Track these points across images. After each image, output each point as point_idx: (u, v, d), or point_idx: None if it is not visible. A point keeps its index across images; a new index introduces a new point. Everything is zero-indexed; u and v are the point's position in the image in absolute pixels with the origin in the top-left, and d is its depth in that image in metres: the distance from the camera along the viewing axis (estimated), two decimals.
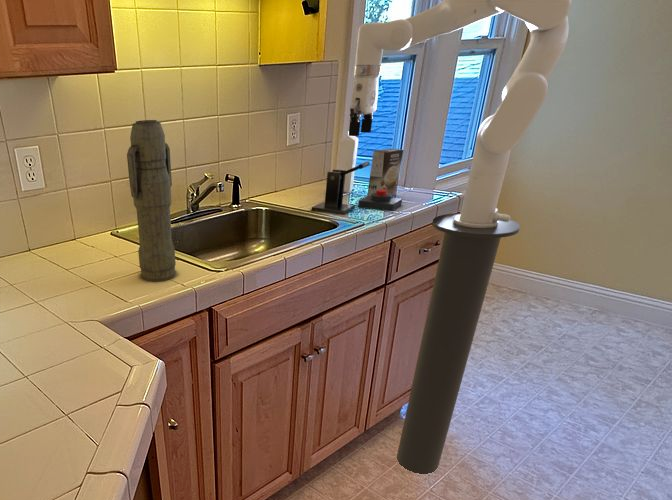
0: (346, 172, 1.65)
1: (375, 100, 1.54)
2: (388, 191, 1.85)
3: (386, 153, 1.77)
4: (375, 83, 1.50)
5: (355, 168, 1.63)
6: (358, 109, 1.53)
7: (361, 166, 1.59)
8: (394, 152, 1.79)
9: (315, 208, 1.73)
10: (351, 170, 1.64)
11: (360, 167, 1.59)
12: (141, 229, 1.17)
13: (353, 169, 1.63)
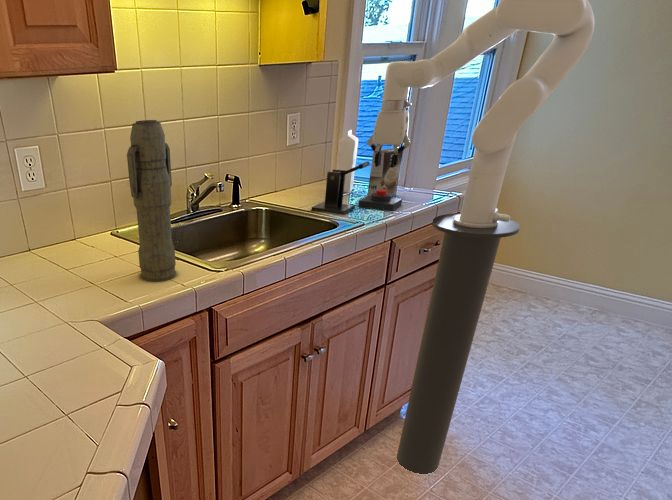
0: (346, 172, 1.65)
1: None
2: (388, 191, 1.85)
3: (386, 153, 1.77)
4: None
5: (355, 168, 1.63)
6: None
7: (361, 166, 1.59)
8: None
9: (315, 208, 1.73)
10: (351, 170, 1.64)
11: (360, 167, 1.59)
12: (141, 229, 1.17)
13: (353, 169, 1.63)
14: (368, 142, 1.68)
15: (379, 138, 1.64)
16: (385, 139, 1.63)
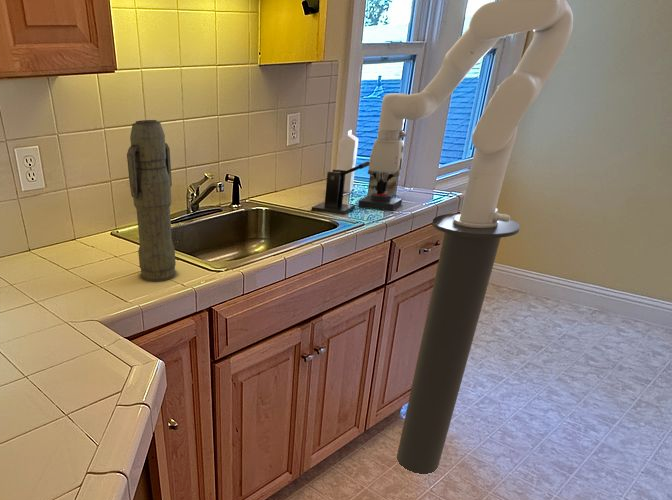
0: (346, 172, 1.65)
1: None
2: (388, 191, 1.85)
3: None
4: None
5: (355, 168, 1.63)
6: None
7: (361, 166, 1.59)
8: None
9: (315, 208, 1.73)
10: (351, 170, 1.64)
11: (360, 167, 1.59)
12: (141, 229, 1.17)
13: (353, 169, 1.63)
14: (369, 172, 1.72)
15: (375, 166, 1.69)
16: (381, 167, 1.68)
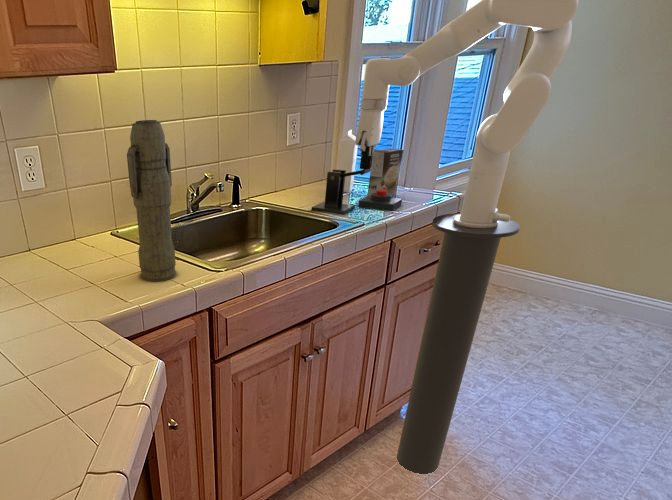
0: (346, 174, 1.66)
1: None
2: (388, 191, 1.85)
3: (386, 153, 1.77)
4: None
5: (356, 172, 1.63)
6: None
7: (362, 172, 1.60)
8: (394, 152, 1.79)
9: (315, 208, 1.73)
10: (352, 173, 1.64)
11: (361, 173, 1.60)
12: (141, 229, 1.17)
13: (354, 173, 1.64)
14: (364, 148, 1.55)
15: (373, 139, 1.54)
16: (374, 140, 1.56)
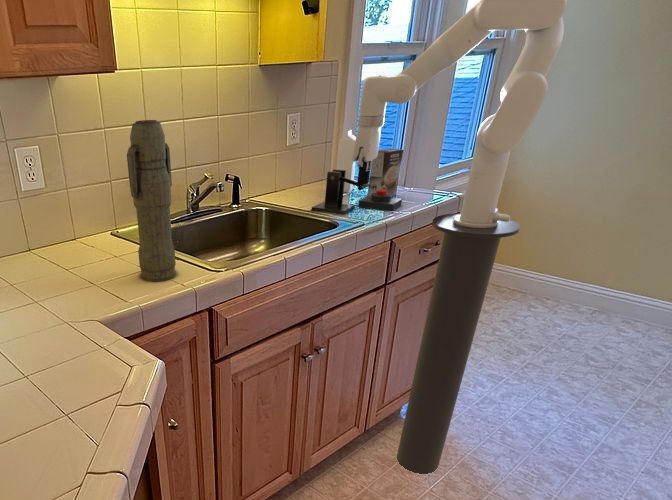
0: (346, 180, 1.66)
1: None
2: (388, 191, 1.85)
3: (386, 153, 1.77)
4: None
5: (355, 183, 1.65)
6: None
7: (360, 188, 1.62)
8: (394, 152, 1.79)
9: (315, 208, 1.73)
10: (351, 182, 1.66)
11: (359, 188, 1.63)
12: (141, 229, 1.17)
13: (353, 183, 1.65)
14: (361, 164, 1.57)
15: (370, 155, 1.57)
16: (372, 155, 1.58)
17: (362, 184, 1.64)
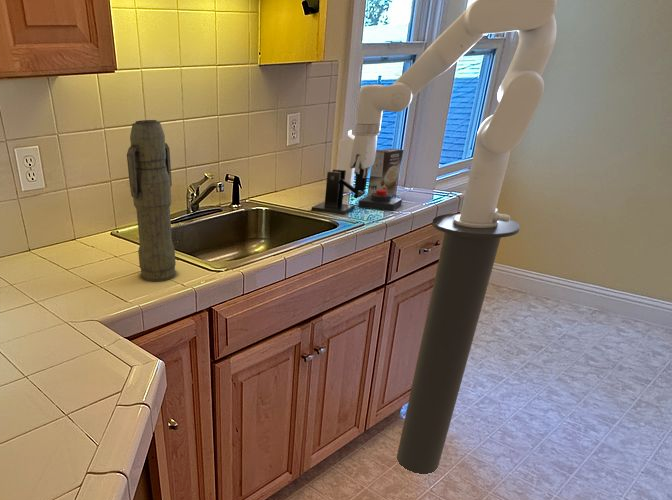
0: (344, 184, 1.67)
1: None
2: (388, 191, 1.85)
3: (386, 153, 1.77)
4: None
5: (352, 188, 1.66)
6: None
7: (356, 196, 1.64)
8: (394, 152, 1.79)
9: (315, 208, 1.73)
10: (348, 187, 1.67)
11: (355, 196, 1.64)
12: (141, 229, 1.17)
13: (350, 188, 1.67)
14: (358, 171, 1.59)
15: (367, 163, 1.58)
16: (368, 163, 1.60)
17: (359, 192, 1.65)
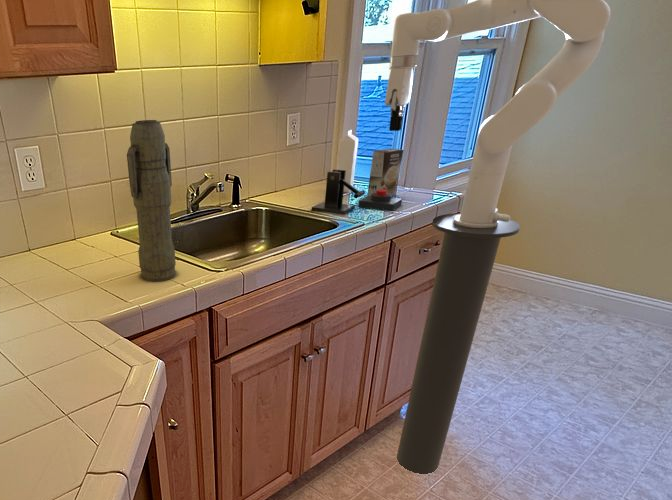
0: (344, 184, 1.67)
1: None
2: (388, 191, 1.85)
3: (386, 153, 1.77)
4: None
5: (352, 188, 1.66)
6: None
7: (356, 196, 1.64)
8: (394, 152, 1.79)
9: (315, 208, 1.73)
10: (348, 187, 1.67)
11: (355, 196, 1.64)
12: (141, 229, 1.17)
13: (350, 188, 1.67)
14: (395, 108, 1.51)
15: (403, 98, 1.51)
16: (405, 99, 1.52)
17: (358, 192, 1.65)
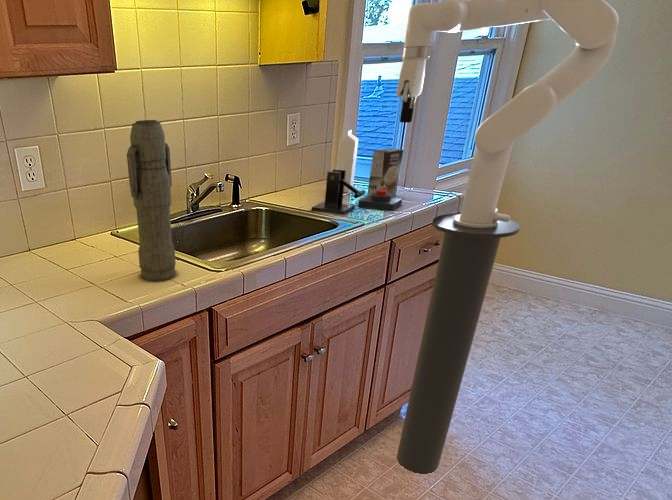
0: (344, 184, 1.67)
1: None
2: (388, 191, 1.85)
3: (386, 153, 1.77)
4: None
5: (352, 188, 1.66)
6: None
7: (356, 196, 1.64)
8: (394, 152, 1.79)
9: (315, 208, 1.73)
10: (348, 187, 1.67)
11: (355, 196, 1.64)
12: (141, 229, 1.17)
13: (350, 188, 1.67)
14: (406, 99, 1.51)
15: (415, 90, 1.50)
16: (416, 91, 1.52)
17: (358, 192, 1.65)
